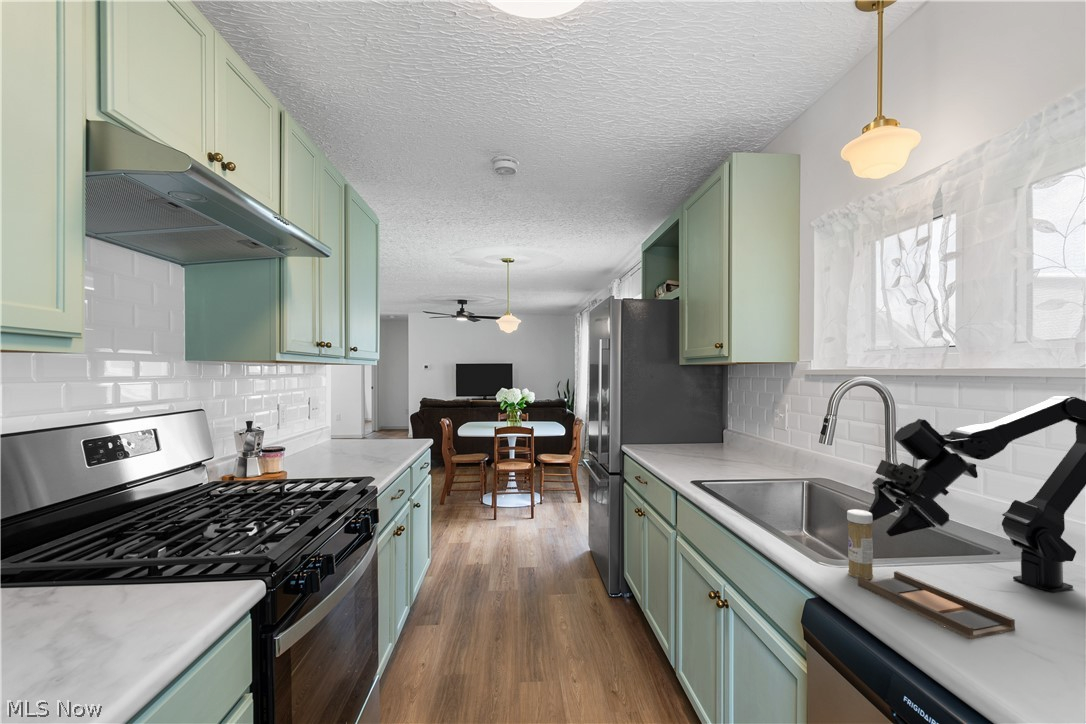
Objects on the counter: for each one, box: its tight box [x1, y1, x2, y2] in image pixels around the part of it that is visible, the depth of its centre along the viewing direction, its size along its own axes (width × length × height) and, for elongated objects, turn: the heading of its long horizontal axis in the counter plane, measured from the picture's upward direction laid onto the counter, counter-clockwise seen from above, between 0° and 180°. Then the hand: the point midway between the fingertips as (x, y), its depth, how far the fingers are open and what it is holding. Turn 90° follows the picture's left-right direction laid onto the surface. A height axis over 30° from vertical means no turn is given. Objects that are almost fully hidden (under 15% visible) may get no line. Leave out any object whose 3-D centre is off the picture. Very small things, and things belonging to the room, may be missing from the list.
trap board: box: [857, 570, 1016, 640], centre depth 93 cm, size 10×21×2 cm, turn 15°
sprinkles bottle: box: [846, 508, 874, 580], centre depth 107 cm, size 5×5×13 cm
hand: (876, 527), depth 106 cm, fingers open, 9 cm apart
